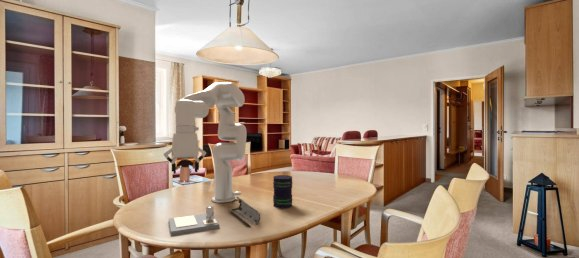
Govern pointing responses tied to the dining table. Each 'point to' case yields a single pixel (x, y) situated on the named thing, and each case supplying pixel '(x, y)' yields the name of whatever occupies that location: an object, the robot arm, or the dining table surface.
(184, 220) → the board
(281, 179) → the storage jar
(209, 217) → the pin
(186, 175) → the grandmother figurine
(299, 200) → the dining table surface
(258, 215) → the model building
